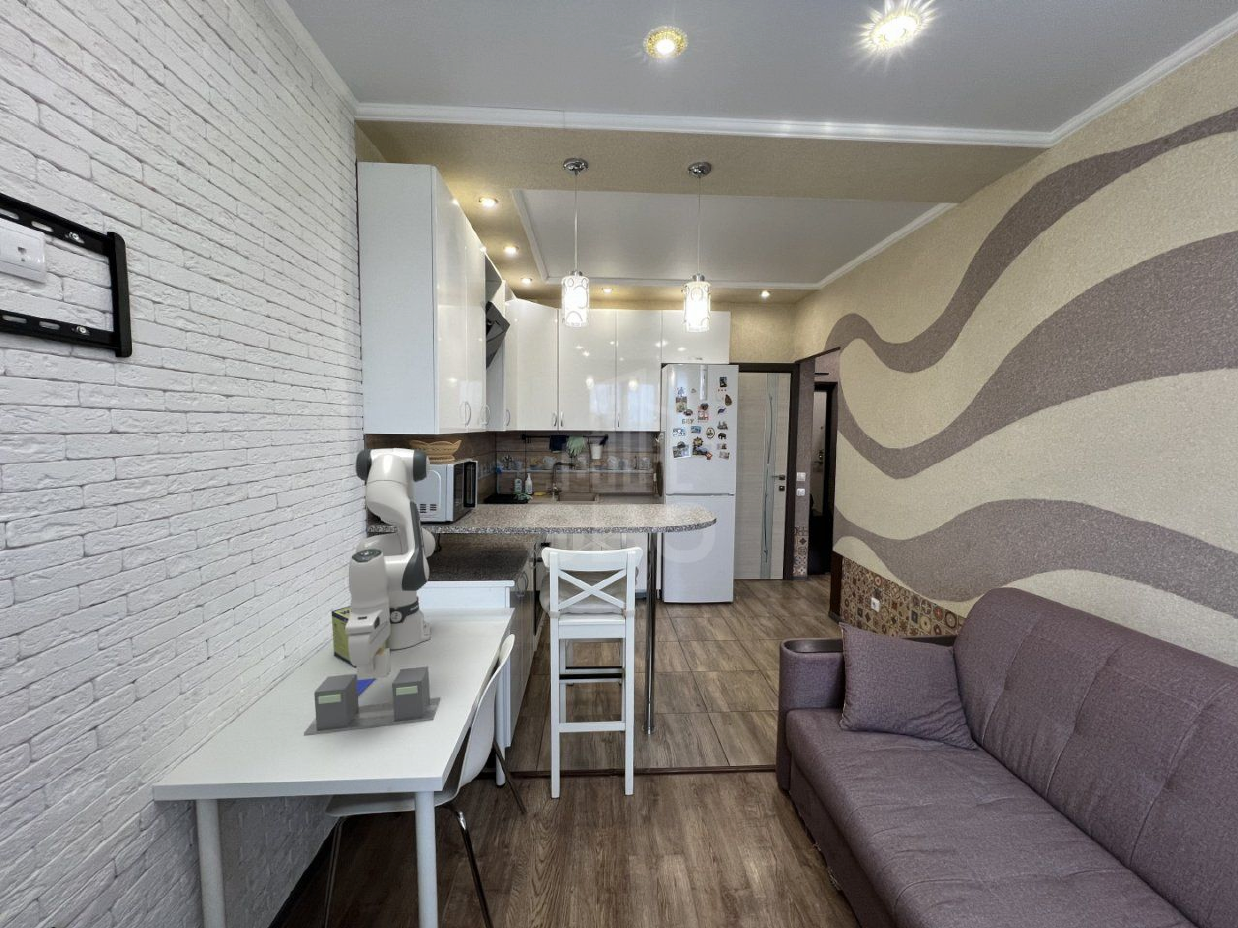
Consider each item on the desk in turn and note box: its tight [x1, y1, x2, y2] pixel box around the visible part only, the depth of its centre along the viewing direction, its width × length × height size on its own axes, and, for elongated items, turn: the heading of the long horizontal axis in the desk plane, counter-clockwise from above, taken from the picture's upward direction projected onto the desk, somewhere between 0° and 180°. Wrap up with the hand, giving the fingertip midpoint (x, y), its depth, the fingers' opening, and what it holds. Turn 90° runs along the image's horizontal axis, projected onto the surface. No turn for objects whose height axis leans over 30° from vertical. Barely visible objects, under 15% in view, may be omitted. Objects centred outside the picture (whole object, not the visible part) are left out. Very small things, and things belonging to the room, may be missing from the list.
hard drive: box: [357, 678, 379, 699], centre depth 142 cm, size 2×8×12 cm
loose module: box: [356, 648, 392, 680], centre depth 126 cm, size 4×7×6 cm, turn 100°
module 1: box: [313, 673, 360, 729], centre depth 125 cm, size 8×7×10 cm
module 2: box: [391, 666, 431, 720], centre depth 128 cm, size 8×7×10 cm
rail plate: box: [303, 696, 441, 736], centre depth 127 cm, size 10×30×1 cm, turn 100°
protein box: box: [330, 605, 386, 668], centre depth 163 cm, size 10×16×16 cm
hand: (373, 667), depth 126 cm, fingers closed on loose module, 3 cm apart
